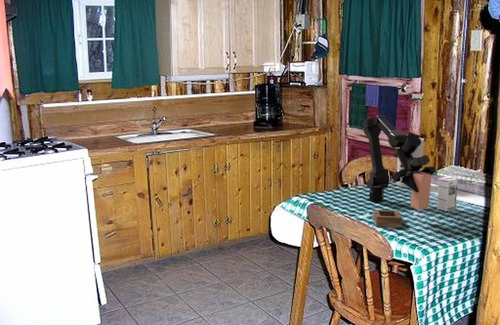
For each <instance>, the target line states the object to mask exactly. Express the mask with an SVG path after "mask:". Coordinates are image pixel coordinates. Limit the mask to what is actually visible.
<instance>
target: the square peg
mask: <svg viewBox="0 0 500 325" xmlns="http://www.w3.org/2000/svg"><path fill="white" fill-rule="evenodd" d="M413 179H414V181H415V184H416V186H417V188H418V191H419V192H415V191H414V190H413V189H411V197H410V206H411V207H412V208H414V209H417V210H424V209H429V208H430V206H429V205H430V196H431V183H432V175H430V174H427V173H424V172H421V173H413Z"/></svg>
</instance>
